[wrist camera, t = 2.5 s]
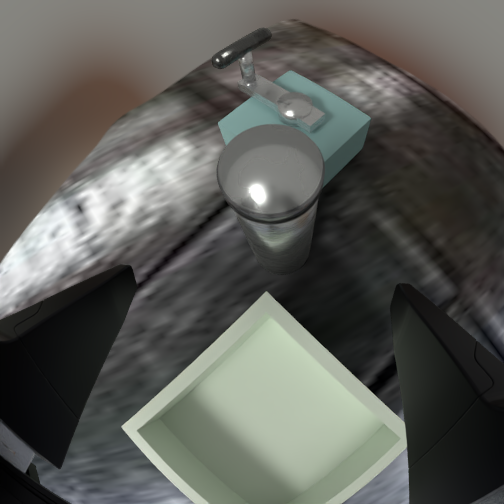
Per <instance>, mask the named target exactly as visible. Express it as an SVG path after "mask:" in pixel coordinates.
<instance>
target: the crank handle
mask: <svg viewBox="0 0 504 504" xmlns="http://www.w3.org/2000/svg"><path fill="white" fill-rule="evenodd" d="M271 37H272V34H271V31H270V30H269V29H267V28H259V29H257V30H255V31H254V32H252V33H250V34H248V35H246V36H245V37H243V38H241V39H239V40H238V41H236V42H234V43H233V44H231V45H229V46H228V47H226V48H224V49H223V50H221V51H219V52H218V53H216V54H215V55H214V56H213V57H212V60H211V62H212V65H213V66H214V67H215V68H218V69H223V68H225V67H227V66H228V65H230V64H232V63H233V62H235V61H236V60H238V61H239V65H240V70H241V74H242V78H243V79H242V80H240V81H239V82H237V83H238V87H239V90H241V91H243V92H244V93H246V94H248V95H250V96H251V97H253V98H255V99H256V100H258V101H260V102H261V103H263V104H265V105H266V106H268V107H270V108H271V109H273V110H274V111H276V112H278V116H279V119H280V121H281V122H282V123H284V124H285V125H287V126H290V127H301V128H302V129H304V130H305V131H307V132H308V133H311V132H312V131H314V130H315V129H316V128H317V127H318V126H319V125H321V124H322V123H323V122H324V121H325V113H323V112H322V111H320V110H319V109H317V108H315V107H314V106H313V103H312V100H311V99H310V98H309V97H308V96H307V95H305V94H303V93H299V92H289V91H287V90H285V89H283V88H281V87H280V86H278V85H276V84H274V83H272V82H270V81H269V80H267V79H265V78H263V77H261V76H259V75H257V74H255V70H254V64H253V59H252V54H251V51H252V50H254V49H256V48H257V47H259V46H261V45H262V44H264V43H266V42H268V41H269V40H270V39H271Z"/></svg>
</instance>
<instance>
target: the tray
mask: <svg viewBox="0 0 504 504" xmlns="http://www.w3.org/2000/svg"><path fill="white" fill-rule="evenodd" d="M122 428H123V430H124V431H125V432H126V433H127V434H128V436H129V437H130V438H131V439H132V440H133V442H134V443H135V444H136V445H137V446H138V447H139V448H140V450H141V451H142V452H143V453H144V454H145V455H146V456H147V457H148V458H149V460H150V461H151V462H152V463H153V464H154V465H155V466H156V467H157V468H158V469H159V470H160V471H161V472H162V473H163V474H164V475H165V476H166V477H167V478H168V479H169V480H170V481H171V482H172V483H173V484H174V485H175V486H176V487H177V488H178V489H179V490H180V491H182V492H183V493H184V494H185V495H186V496H187V497H188V498H189V499H190V500H192V501H193V502H194V503H195V504H342V503H343V502H344V501H346V500H347V499H348V498H350V497H351V496H352V495H354V494H355V493H356V492H357V491H359V490H360V489H361V488H362V487H364V486H365V485H366V484H367V483H368V482H370V481H371V480H372V479H373V478H374V477H375V476H377V475H378V474H379V473H380V472H381V471H382V470H383V469H385V468H386V467H387V466H388V465H389V464H390V463H391V462H392V461H393V460H394V459H395V458H396V457H397V456H398V455H399V454H400V453H401V452H402V451H403V450H404V449H405V448H406V447H407V440H406V429H405V423H404V422H403V421H402V420H401V419H400V418H399V417H398V416H397V415H396V414H395V413H393V412H392V411H391V410H390V409H389V408H388V407H387V406H386V405H385V404H384V403H383V402H382V401H381V400H379V399H378V398H377V397H376V396H375V395H374V394H373V393H372V392H371V391H370V390H369V389H368V388H367V387H366V386H365V385H363V384H362V383H361V382H360V381H359V380H358V379H357V378H356V377H355V376H354V375H353V374H352V373H351V372H350V371H349V370H348V369H347V368H345V367H344V366H343V365H342V364H341V363H340V362H339V361H338V360H337V359H336V358H335V357H334V356H333V355H332V354H331V353H330V352H329V351H328V350H327V349H326V348H324V347H323V346H322V345H321V344H320V343H319V342H318V341H317V340H316V339H315V338H314V337H313V336H312V335H311V334H310V333H309V332H308V331H307V330H306V329H305V328H304V327H303V326H302V325H301V324H300V323H298V322H297V321H296V320H295V319H294V318H293V317H292V316H291V315H290V314H289V313H288V312H287V311H286V310H285V309H284V308H283V307H282V306H281V305H280V304H279V303H278V302H277V301H276V300H275V299H274V298H273V297H272V296H271V295H270V294H269V293H268V292H267V291H266V292H265V293H264V294H263V295H262V296H261V297H260V298H259V299H258V300H257V301H256V302H255V303H254V304H253V305H252V306H251V307H250V308H249V309H248V310H247V311H246V312H245V313H244V314H243V315H242V316H241V317H240V318H239V319H238V320H237V321H236V322H235V323H234V324H233V325H232V326H230V327H229V328H228V329H227V330H226V331H225V332H224V333H223V334H222V335H221V336H220V337H219V338H218V339H217V340H216V341H215V342H214V343H213V344H212V345H211V346H210V347H209V348H207V349H206V350H205V351H204V352H203V353H202V354H201V355H200V356H199V357H198V358H197V359H196V360H195V361H194V362H193V363H192V364H190V365H189V366H188V367H187V368H186V369H185V370H184V371H183V372H182V373H181V374H180V375H179V376H177V377H176V378H175V379H174V380H173V381H172V382H171V383H170V384H169V385H168V386H167V387H165V388H164V389H163V390H162V391H161V392H160V393H159V394H158V395H157V396H156V397H154V398H153V399H152V400H151V401H150V402H149V403H148V404H147V405H145V406H144V407H143V408H142V409H141V410H140V411H139V412H138V413H136V414H135V415H134V416H133V417H132V418H131V419H130V420H128V421H127V422H126V423H125V424H124V425H123V426H122Z"/></svg>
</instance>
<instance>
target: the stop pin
mask: <svg viewBox="0 0 504 504" xmlns="http://www.w3.org/2000/svg"><path fill="white" fill-rule="evenodd" d="M324 175H325V163H324V159H323V156H322V153H321V151H320V150H319V148H318V146H317V145H316V144H315V143H314V142H313V141H312V140H311V139H310V138H309V137H308V136H307V135H306V134H304V133H303V132H301V131H300V130H297V129H295V128H293V127H290V126H286V125H280V124H265V125H259V126H255V127H252V128H249V129H247V130H245V131H243V132H241V133H240V134H238V135H237V136H235V137H234V138H233V139H232V140H231V141H230V142H229V143H228V144H227V146H226V147H225V149H224V150H223V152H222V154H221V156H220V158H219V161H218V165H217V180H218V184H219V187H220V189H221V191H222V193H223V195H224V197H225V199H226V201H227V203H228V204H229V206H230V207H231V208H232V209H233V211H234V213H235V215H236V217H237V219H238V221H239V223H240V225H241V227H242V230H243V232H244V234H245V236H246V238H247V240H248V242H249V244H250V246H251V248H252V251H253V253H254V255H255V257H256V259H257V261H258V263H259V264H260V265H261V266H262V267H263V268H264V269H265V270H267V271H268V272H270V273H273V274H277V275H286V274H290V273H293V272H295V271H297V270H298V269H300V268H301V267H302V266H303V265H304V264H305V262H306V261H307V259H308V256H309V252H310V247H311V241H312V235H313V229H314V223H315V217H316V211H317V204H318V198H319V196H320V194H321V191H322V187H323V182H324Z"/></svg>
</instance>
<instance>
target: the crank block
mask: <svg viewBox="0 0 504 504" xmlns="http://www.w3.org/2000/svg"><path fill="white" fill-rule="evenodd" d="M272 83H274V84H276V85H278V86H280V87H281V88H283V89H285V90H287V91H289V92H299V93H303V94H305V95H307V96H308V97H309V98H310V99H311V100H312V103H313V106H314V107H315V108H317V109H319V110H320V111H322V112H323V113H325V121H324V122H323V123H322V124H321V125H319V126H318V127H317V128H316V129H315V130H314V131H312V132H311V133H308V132H307V131H305V130H304V129H302V128H301V127H293V128H295V129H297V130H300V131H301V132H303V133H304V134H306V135H307V136H308V137H309V138H310V139H311V140H312V141H313V142H314V143H315V144H316V145H317V146H318V148H319V150H320V151H321V153H322V156H323V159H324V163H325V175H324V182H323V187H324V186H325V185H326V184H327V183H328V182H329V181H330V180H331V179H332V178H333V177H334V176H335V175H336V174H337V173H338V172H339V171H340V170H341V169H342V168H343V167H344V166H345V165H346V164H347V163H348V162H349V161H350V160H351V159H352V158H353V157H354V156H355V155H356V154H357V153H358V152H359V151H360V150H361V149H362V148H363V145H364V142H365V139H366V135H367V132H368V128H369V125H370V121H371V118H370V117H369V116H367V115H366V114H364V113H363V112H361V111H360V110H358V109H357V108H355V107H354V106H352V105H351V104H349V103H347V102H346V101H344V100H343V99H341V98H339V97H338V96H336V95H334V94H333V93H331V92H329V91H328V90H326V89H324V88H322V87H321V86H319V85H317V84H315V83H314V82H312V81H310V80H308V79H306V78H304V77H303V76H301V75H299V74H297V73H295V72H293V71H291V70H290V71H288V72H287V73H285V74H284V75H282V76H281V77H279V78H278V79H276V80H275V81H274V82H272ZM218 124H219V127H220V130H221V133H222V135H223V138H224V141H225V144H226V146H227V144H228V143H229V142H230V141H231V140H232V139H233V138H234V137H235V136H237V135H238V134H240V133H241V132H243V131H245V130H247V129H249V128H252V127H255V126H259V125H265V124H280V125H285V124H284V123H282V122H281V121H280V119H279V116H278V112H276V111H274V110H273V109H271V108H270V107H268V106H266V105H265V104H263V103H261V102H260V101H258V100H256V99H255V98H253V97H251V98H250V99H248V100H247V101H246V102H244V103H243V104H242V105H240V106H239V107H238V108H236V109H235V110H234V111H232V112H231V113H230V114H229V115H227V116H226V117H225V118H223V119H222V120H221V121H220V122H218ZM286 126H287V125H286ZM323 187H322V188H323Z"/></svg>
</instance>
